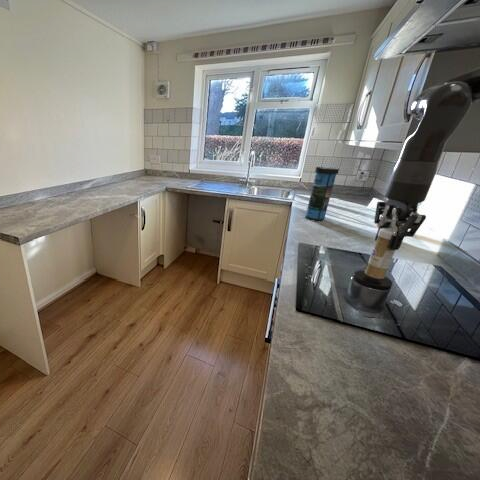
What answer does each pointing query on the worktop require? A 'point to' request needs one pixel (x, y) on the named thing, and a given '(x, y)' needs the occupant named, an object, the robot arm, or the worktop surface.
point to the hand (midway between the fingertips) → (385, 244)
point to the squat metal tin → (368, 292)
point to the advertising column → (321, 193)
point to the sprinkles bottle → (380, 255)
